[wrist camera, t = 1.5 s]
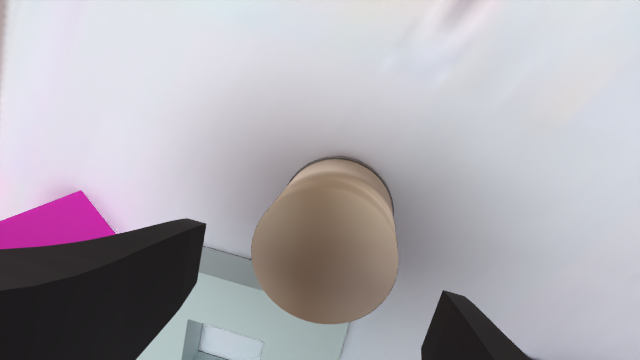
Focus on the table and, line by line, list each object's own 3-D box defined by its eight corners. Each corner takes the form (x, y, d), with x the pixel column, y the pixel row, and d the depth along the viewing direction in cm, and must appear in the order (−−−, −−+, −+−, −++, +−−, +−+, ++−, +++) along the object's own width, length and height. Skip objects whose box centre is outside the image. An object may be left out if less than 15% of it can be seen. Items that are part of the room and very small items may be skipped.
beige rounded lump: (403, 162, 19) (420, 210, 12) (376, 253, 20) (376, 342, 13) (304, 136, 19) (264, 169, 12) (284, 227, 21) (238, 302, 14)
